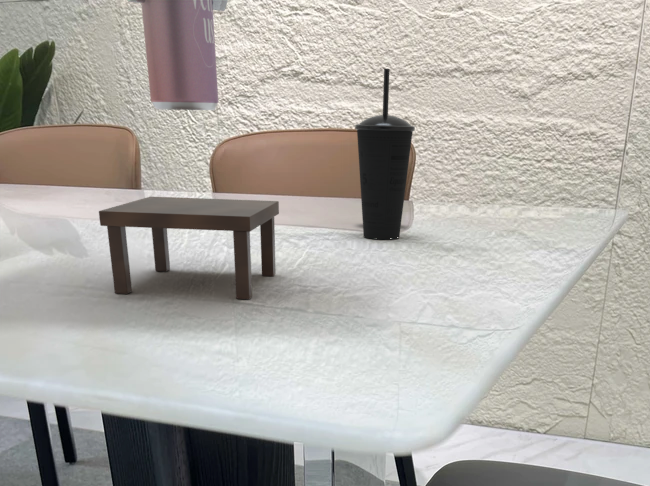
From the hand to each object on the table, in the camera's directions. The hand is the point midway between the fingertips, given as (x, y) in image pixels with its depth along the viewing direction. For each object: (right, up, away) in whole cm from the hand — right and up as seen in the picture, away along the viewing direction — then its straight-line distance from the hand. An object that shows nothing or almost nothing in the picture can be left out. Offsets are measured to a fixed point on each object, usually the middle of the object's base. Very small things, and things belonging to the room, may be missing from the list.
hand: (174, 1), depth 66 cm
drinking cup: (+19, -8, +38) cm, 43 cm away
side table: (+1, -22, +7) cm, 24 cm away
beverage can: (0, -8, +3) cm, 9 cm away
